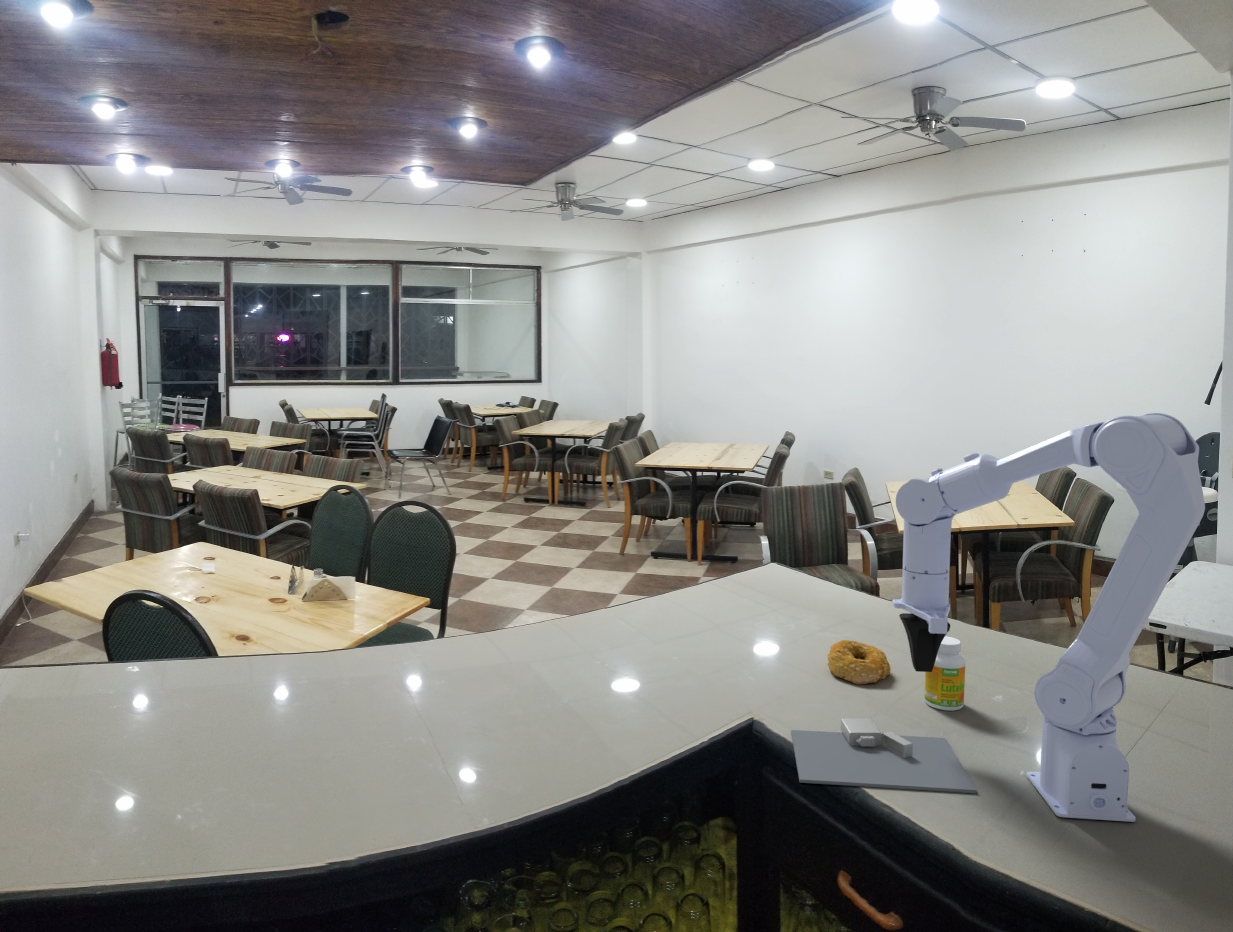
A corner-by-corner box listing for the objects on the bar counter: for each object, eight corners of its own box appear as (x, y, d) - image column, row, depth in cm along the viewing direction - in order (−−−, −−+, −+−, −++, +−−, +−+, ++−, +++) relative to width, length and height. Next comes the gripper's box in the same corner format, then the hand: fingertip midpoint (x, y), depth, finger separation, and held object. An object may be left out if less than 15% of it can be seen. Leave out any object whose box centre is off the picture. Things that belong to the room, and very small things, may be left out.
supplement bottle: (940, 713, 112) (942, 647, 111) (916, 699, 118) (918, 636, 117) (972, 708, 114) (974, 644, 113) (947, 694, 119) (949, 632, 118)
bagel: (829, 684, 124) (830, 654, 124) (825, 661, 135) (826, 634, 134) (895, 689, 122) (896, 659, 122) (885, 665, 133) (887, 638, 132)
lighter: (840, 730, 106) (857, 758, 98) (840, 718, 106) (857, 745, 98) (893, 730, 106) (914, 758, 98) (893, 718, 106) (914, 745, 98)
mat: (976, 793, 91) (976, 789, 91) (799, 782, 94) (799, 779, 93) (945, 740, 104) (945, 737, 104) (791, 732, 107) (791, 729, 107)
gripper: (883, 556, 110) (881, 650, 112) (906, 582, 96) (903, 689, 97) (936, 557, 109) (933, 652, 111) (966, 583, 95) (962, 692, 96)
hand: (922, 669), depth 104 cm, fingers closed
